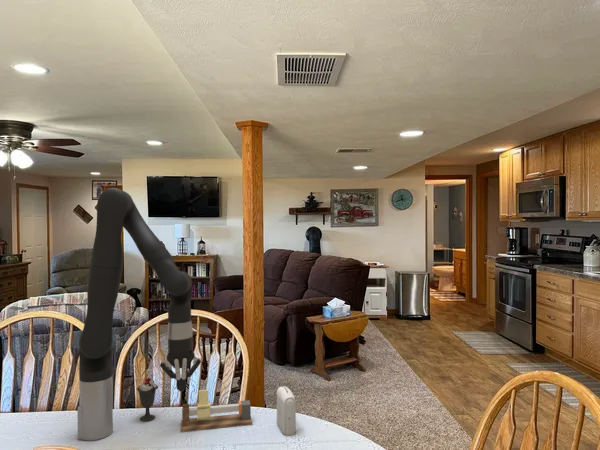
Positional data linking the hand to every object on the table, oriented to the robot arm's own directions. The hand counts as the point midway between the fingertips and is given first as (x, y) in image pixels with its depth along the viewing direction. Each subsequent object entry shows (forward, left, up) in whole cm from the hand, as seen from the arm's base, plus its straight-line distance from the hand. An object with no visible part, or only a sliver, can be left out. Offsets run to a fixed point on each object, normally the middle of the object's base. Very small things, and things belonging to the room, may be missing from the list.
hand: (181, 390), depth 140 cm
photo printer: (+32, -9, -12) cm, 35 cm away
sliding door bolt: (+11, 0, -10) cm, 15 cm away
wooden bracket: (+11, 0, -12) cm, 16 cm away
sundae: (-11, +9, -12) cm, 19 cm away
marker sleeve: (+7, 0, -9) cm, 11 cm away
